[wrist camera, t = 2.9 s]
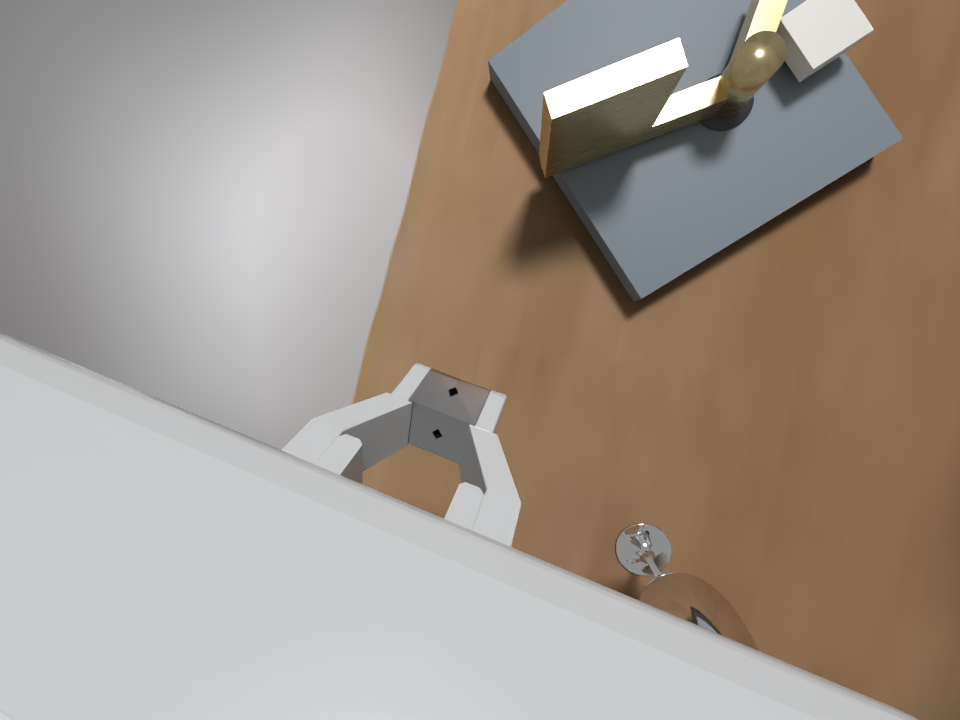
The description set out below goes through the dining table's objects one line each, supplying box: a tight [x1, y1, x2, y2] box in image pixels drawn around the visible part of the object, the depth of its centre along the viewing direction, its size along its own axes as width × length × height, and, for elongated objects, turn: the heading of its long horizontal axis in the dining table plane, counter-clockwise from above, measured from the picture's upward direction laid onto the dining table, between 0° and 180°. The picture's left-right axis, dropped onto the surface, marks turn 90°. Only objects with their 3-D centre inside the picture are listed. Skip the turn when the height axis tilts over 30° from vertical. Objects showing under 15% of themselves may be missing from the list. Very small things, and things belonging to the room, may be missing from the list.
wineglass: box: [616, 523, 759, 651], centre depth 24 cm, size 6×6×12 cm
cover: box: [776, 0, 874, 83], centre depth 24 cm, size 4×4×1 cm
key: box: [539, 0, 788, 178], centre depth 22 cm, size 19×6×7 cm, turn 123°
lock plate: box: [488, 0, 903, 302], centre depth 27 cm, size 20×22×2 cm
